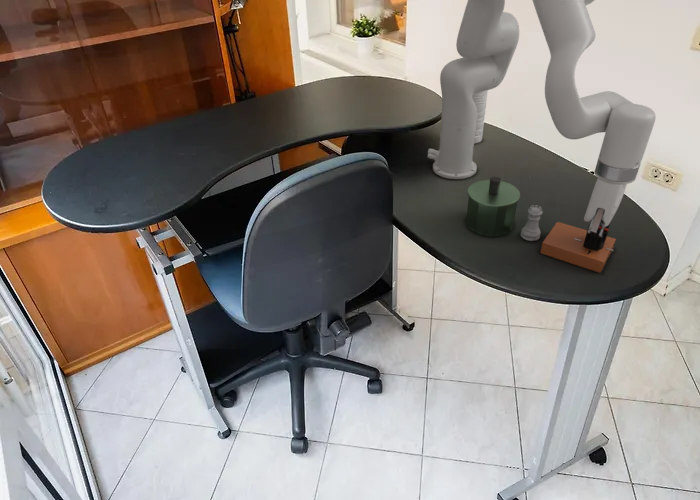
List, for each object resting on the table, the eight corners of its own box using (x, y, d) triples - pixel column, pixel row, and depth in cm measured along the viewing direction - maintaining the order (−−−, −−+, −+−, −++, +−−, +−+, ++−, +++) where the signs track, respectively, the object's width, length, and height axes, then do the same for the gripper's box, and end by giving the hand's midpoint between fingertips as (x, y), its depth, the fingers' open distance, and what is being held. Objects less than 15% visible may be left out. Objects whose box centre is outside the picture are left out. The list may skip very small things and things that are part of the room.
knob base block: (540, 253, 114) (542, 242, 112) (554, 231, 120) (557, 220, 118) (603, 274, 107) (607, 262, 105) (615, 250, 114) (619, 239, 112)
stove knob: (581, 246, 110) (586, 228, 107) (586, 237, 113) (591, 219, 110) (600, 252, 108) (606, 234, 106) (605, 243, 111) (611, 225, 108)
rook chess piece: (543, 240, 118) (549, 211, 113) (525, 243, 117) (531, 214, 112) (534, 230, 121) (540, 201, 116) (517, 232, 121) (522, 204, 116)
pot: (458, 227, 124) (461, 197, 118) (477, 207, 131) (481, 178, 125) (501, 242, 118) (506, 211, 113) (519, 219, 125) (525, 190, 120)
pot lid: (458, 200, 119) (460, 183, 116) (480, 179, 126) (482, 162, 124) (507, 215, 113) (510, 197, 110) (527, 192, 120) (530, 174, 118)
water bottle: (469, 145, 159) (478, 65, 144) (457, 138, 164) (464, 60, 149) (491, 139, 162) (502, 60, 147) (478, 132, 167) (487, 55, 152)
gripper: (607, 148, 107) (587, 220, 117) (584, 181, 96) (564, 257, 107) (646, 156, 103) (621, 230, 114) (627, 192, 92) (601, 269, 103)
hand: (594, 242), depth 110 cm, fingers closed on stove knob, 4 cm apart
